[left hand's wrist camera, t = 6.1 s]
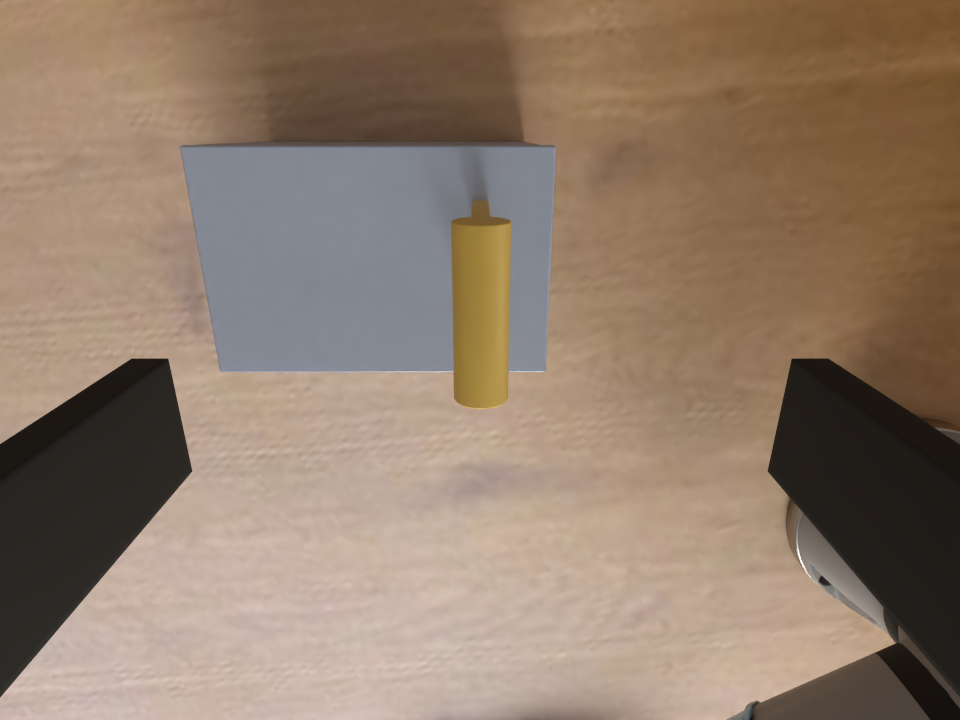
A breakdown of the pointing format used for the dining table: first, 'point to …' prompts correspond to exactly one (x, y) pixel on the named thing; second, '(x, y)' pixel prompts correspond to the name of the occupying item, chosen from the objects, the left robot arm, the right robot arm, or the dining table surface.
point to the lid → (377, 258)
